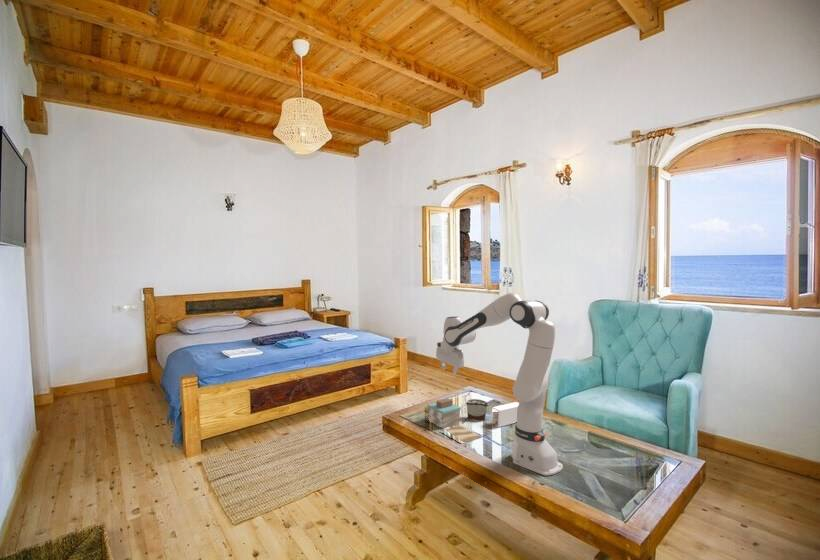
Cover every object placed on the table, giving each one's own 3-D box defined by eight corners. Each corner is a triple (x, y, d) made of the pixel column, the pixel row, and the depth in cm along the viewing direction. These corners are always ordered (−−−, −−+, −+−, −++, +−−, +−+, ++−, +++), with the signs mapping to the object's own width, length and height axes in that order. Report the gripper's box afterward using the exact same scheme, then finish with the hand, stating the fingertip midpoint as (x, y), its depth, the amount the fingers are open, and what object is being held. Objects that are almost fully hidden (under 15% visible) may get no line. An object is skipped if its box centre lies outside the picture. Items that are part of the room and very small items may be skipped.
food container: (486, 416, 227) (487, 399, 227) (487, 421, 221) (488, 403, 221) (464, 415, 229) (465, 398, 228) (465, 419, 222) (465, 401, 222)
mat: (481, 437, 200) (481, 436, 200) (461, 444, 192) (461, 443, 192) (459, 426, 213) (459, 425, 213) (439, 432, 204) (439, 431, 204)
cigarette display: (515, 417, 228) (516, 401, 227) (523, 421, 223) (524, 405, 223) (489, 424, 217) (490, 407, 217) (497, 428, 212) (498, 411, 212)
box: (459, 424, 216) (459, 409, 215) (442, 429, 208) (443, 414, 208) (444, 416, 225) (445, 402, 225) (428, 421, 218) (428, 406, 218)
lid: (460, 411, 215) (461, 402, 215) (443, 416, 208) (443, 406, 207) (444, 404, 225) (445, 395, 225) (427, 408, 218) (428, 399, 217)
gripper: (467, 350, 207) (465, 376, 208) (444, 341, 224) (442, 365, 225) (458, 351, 203) (456, 377, 204) (435, 342, 221) (433, 366, 222)
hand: (448, 371), depth 215 cm, fingers open, 8 cm apart
